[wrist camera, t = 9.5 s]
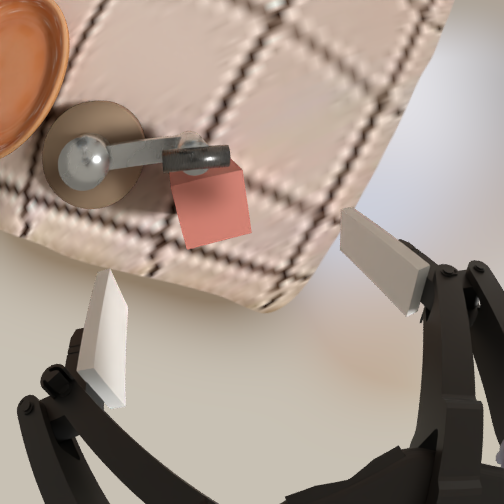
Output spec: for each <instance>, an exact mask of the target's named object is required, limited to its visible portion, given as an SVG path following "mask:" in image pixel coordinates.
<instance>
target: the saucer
mask: <svg viewBox="0 0 504 504" xmlns="http://www.w3.org/2000/svg"><path fill="white" fill-rule="evenodd" d="M68 58H69V32H68V27H67V23H66V20H65V17H64V15H63V13H62V11H61V9H60V8H59V6H58V5H57V4H56V3H55V2H54V1H53V0H0V158H2V157H4V156H6V155H8V154H10V153H11V152H13V151H14V150H16V149H17V148H18V147H19V146H21V145H22V144H23V143H24V142H25V141H26V140H27V139H28V138H29V137H30V136H31V135H32V134H33V133H34V132H35V131H36V130H37V128H38V127H39V126H40V125H41V123H42V122H43V120H44V119H45V117H46V116H47V114H48V113H49V111H50V109H51V108H52V106H53V104H54V102H55V100H56V98H57V96H58V93H59V91H60V88H61V85H62V83H63V80H64V76H65V73H66V69H67V64H68Z"/></svg>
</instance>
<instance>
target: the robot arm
mask: <svg viewBox="0 0 504 504" xmlns="http://www.w3.org/2000/svg"><path fill="white" fill-rule="evenodd" d="M340 250H341V251H342V252H343V253H344V254H345V255H346V256H347V257H348V258H349V259H350V260H351V261H352V262H353V263H354V264H355V265H356V266H357V267H358V268H359V269H360V270H361V271H362V272H363V273H364V274H365V275H366V276H367V277H368V278H369V279H370V280H371V281H372V282H373V283H374V284H375V285H376V286H377V287H378V288H379V289H380V290H381V291H382V292H383V293H384V294H385V295H386V296H387V297H388V298H389V299H390V300H391V301H392V302H393V303H394V304H395V305H396V307H398V309H399V310H400V311H401V312H402V313H403V314H404V315H405V316H406V317H407V316H409V315H411V314H413V313H415V312H417V311H418V308H419V305H420V302H421V303H422V304H424V306H425V307H424V310H423V314H422V317H421V319H420V323H422V320H423V328H424V329H423V331H424V332H423V364H422V380H421V393H420V403H419V411H418V419H417V426H416V431H415V434H414V437H413V439H412V441H411V444H410V448H407V449H402V450H401V448H400V447H399V446H397V447H395V448H393V449H392V450H390V451H388V452H386V453H384V454H383V455H381V456H379V457H377V458H375V459H374V460H372V461H371V462H370V463H369V464H368V465H367V466H366V467H364V468H363V469H362V470H361V471H359V472H358V473H357V474H356V475H354V476H353V477H352V478H350V479H348V480H345V481H340V482H335V483H329V484H324V485H318V486H314V487H311V488H308V489H306V490H303V491H300V492H297V493H294V494H291V495H289V496H286V497H285V498H286V500H285V501H284V502H282V503H281V504H504V291H503V289H502V287H501V286H500V284H499V283H498V281H497V279H496V278H495V276H494V275H493V273H492V272H491V270H490V268H489V267H488V266H487V265H486V264H484V263H483V262H480V261H475V260H474V261H471V262H469V265H468V268H467V270H462V271H458V270H457V269H455V268H454V267H452V266H450V265H447V264H441V265H437V264H436V263H435V262H433V261H432V260H431V259H430V258H428V257H427V256H426V255H425V254H423V253H421V251H419V250H418V249H416V248H415V247H414V246H413V245H411V244H410V243H409V242H406V241H404V240H401V239H399V240H397V239H396V238H395V237H393V236H392V235H391V234H389V233H388V232H387V231H385V230H384V229H382V228H381V227H380V226H378V225H377V224H376V223H374V222H373V221H371V220H370V219H369V218H367V217H366V216H364V215H363V214H361V213H360V212H358V211H357V210H356V209H354V208H353V207H349V208H345V209H341V234H340ZM479 300H480V305H479ZM127 318H128V306H127V304H126V302H125V300H124V298H123V296H122V294H121V292H120V289H119V287H118V285H117V283H116V281H115V279H114V276H113V274H112V272H111V269H106V270H103V271H99V272H98V273H97V276H96V280H95V283H94V287H93V291H92V295H91V299H90V303H89V308H88V312H87V317H86V321H85V326H84V328H81V329H77V330H76V331H75V332H74V334H73V336H72V337H71V340H70V345H69V350H68V355H67V359H66V365H65V367H64V366H63V365H61V364H55V365H51V366H50V367H49V368H47V369H46V370H45V371H44V373H43V374H42V377H41V381H40V383H41V387H42V388H43V389H44V390H45V391H46V392H47V393H48V394H49V395H50V396H48V397H46V398H44V399H42V400H39V399H38V398H37V397H35V396H34V395H28V396H25V397H24V398H23V399H22V400H21V401H20V403H19V404H18V407H17V415H18V420H19V424H20V429H21V433H22V436H23V441H24V444H25V448H26V451H27V455H28V458H29V461H30V464H31V468H32V471H33V474H34V477H35V479H36V482H37V485H38V487H39V490H40V493H41V495H42V498H43V500H44V502H45V504H110V503H109V502H108V500H107V499H106V497H105V495H104V493H103V492H102V490H101V488H100V486H99V485H98V483H97V481H96V479H95V477H94V475H93V473H92V471H91V470H90V468H89V466H88V464H87V462H86V460H85V458H84V455H83V453H82V452H81V449H80V447H79V445H78V442H77V440H76V438H75V437H76V436H78V435H80V436H81V437H82V438H83V440H84V441H85V442H86V443H87V444H88V446H89V447H90V448H91V449H92V450H93V452H94V453H95V454H96V455H97V456H98V457H99V458H100V459H101V461H102V462H103V463H104V464H105V465H106V466H107V467H108V468H109V469H110V470H111V471H112V472H113V473H114V474H115V475H116V476H117V477H118V478H119V479H120V480H121V481H122V482H123V483H124V484H125V485H126V486H127V487H128V488H129V489H130V490H131V491H132V492H133V493H134V494H135V495H136V496H137V497H139V498H140V499H141V500H142V501H143V502H144V503H145V504H218V503H217V502H215V501H214V500H212V499H210V498H209V497H207V496H206V495H204V494H203V493H201V492H200V491H198V490H197V489H195V488H194V487H193V486H191V485H190V484H188V483H187V482H185V481H184V480H183V479H181V478H180V477H179V476H177V475H176V474H174V473H173V472H172V471H171V470H169V469H168V468H167V467H166V466H164V465H163V464H162V463H161V462H159V461H158V460H157V459H156V458H154V457H153V456H152V455H151V454H150V453H148V452H147V451H146V450H145V449H144V448H143V447H142V446H140V445H139V444H138V443H137V442H136V441H135V440H134V439H133V438H132V437H130V436H129V435H128V434H127V433H126V432H125V431H124V430H123V429H122V428H121V427H120V426H119V425H118V424H117V423H116V422H115V421H114V420H113V419H112V418H111V417H110V416H109V415H108V414H107V413H106V412H105V411H104V403H105V404H106V405H107V406H108V407H109V408H110V409H113V408H120V407H125V406H126V398H125V397H126V393H125V368H126V335H127V334H126V333H127ZM473 355H474V358H475V361H476V364H477V367H478V371H479V374H480V377H481V380H482V384H483V387H484V390H485V394H486V398H487V402H488V406H489V410H490V414H491V419H492V423H493V426H494V431H495V434H496V437H497V439H498V442H499V444H500V451H499V452H498V453H497V455H496V461H497V463H498V464H501V467H495V466H491V465H486V464H482V463H481V459H482V445H483V444H482V443H483V404H482V402H481V401H477V400H476V397H475V377H474V362H473Z"/></svg>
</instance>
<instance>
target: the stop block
mask: <svg viewBox="0 0 504 504" xmlns="http://www.w3.org/2000/svg"><path fill="white" fill-rule="evenodd" d="M169 175H170V185H171V190H172V194H173V198H174V202H175V206H176V210H177V214H178V218H179V222H180V226H181V229H182V233H183V237H184V240H185V244H186V248H187V249H191V248H195V247H199V246H203V245H206V244H210V243H214V242H218V241H222V240H226V239H230V238H233V237H237V236H241V235H245V234H249V233H252V232H251V225H250V218H249V211H248V204H247V198H246V191H245V184H244V177H243V170H242V169H241V168H240V167H239V166H238V165H237V164H236V163H235V162H234V161H233V160H232V159H231V158H230V166H229V167H223V168H210V169H209V170H207V171H206V172H205V173H203V174H201V175H197V176H192V175H188V174H186V173H184V172H183V171H178V172H169Z"/></svg>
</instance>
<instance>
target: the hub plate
mask: <svg viewBox="0 0 504 504" xmlns="http://www.w3.org/2000/svg"><path fill="white" fill-rule="evenodd" d="M86 133H97V134H100V135H102V136H103V137H105V138H106V139H107V140H108V141H109V143H110V144H113V143H120V142H126V141H133V140H140V139H145V135H144V131H143V129H142V126H141V124H140V123H139V121H138V119H137V118H136V117H135V116H134V114H133V113H131V112H130V111H129V110H128V109H127V108H125V107H124V106H122V105H119V104H117V103H114V102H110V101H92V102H85V103H82V104H78V105H76V106H74V107H72V108H70V109H69V110H67V111H66V112H64V113H63V114H62V115H61V116H60V117H59V118H58V119H57V120H56V121H55V122H54V124H53V125H52V127H51V128H50V130H49V132H48V134H47V136H46V139H45V142H44V146H43V153H42V162H43V169H44V173H45V176H46V179H47V181H48V183H49V185H50V187H51V188H52V189H53V191H54V192H55V193H56V194H57V195H58V196H59V197H60V198H61V199H62V200H64V201H65V202H67V203H69V204H71V205H73V206H76V207H79V208H84V209H98V208H103V207H107V206H109V205H112V204H114V203H116V202H117V201H119V200H120V199H122V198H123V197H124V196H125V195H126V194H127V193H129V191H130V190H131V189H132V188H133V186H134V185H135V183H136V182H137V180H138V178H139V176H140V173H141V170H142V167H143V165H140V166H133V167H126V168H119V169H113V170H109V171H108V173H107V174H106V176H105V177H104V179H103V180H102V182H101V183H100V184H99V185H97V186H96V187H94V188H93V189H90V190H86V191H79V190H75V189H72V188H70V187H69V186H68V185H66V184H65V183H64V181H63V180H62V178H61V176H60V174H59V170H58V159H59V155H60V153H61V151H62V149H63V148H64V146H65V145H66V144H67V143H69V142H70V141H71V140H73V139H75V138H77V137H79V136H81V135H83V134H86Z"/></svg>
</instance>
